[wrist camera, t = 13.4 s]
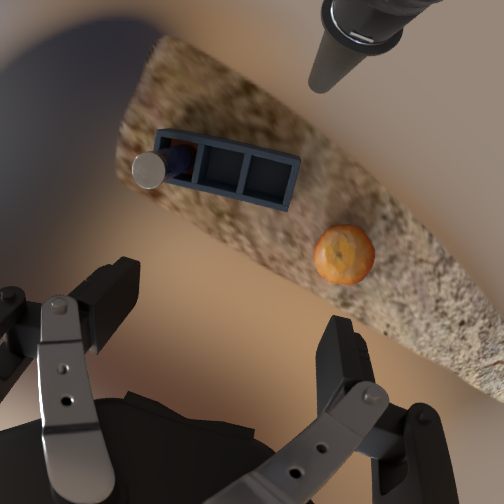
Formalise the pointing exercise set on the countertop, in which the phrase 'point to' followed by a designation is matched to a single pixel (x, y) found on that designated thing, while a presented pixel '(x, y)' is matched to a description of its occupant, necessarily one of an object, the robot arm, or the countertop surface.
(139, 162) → the thermos
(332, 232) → the fruit
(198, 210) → the countertop surface
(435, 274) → the countertop surface
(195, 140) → the rack
